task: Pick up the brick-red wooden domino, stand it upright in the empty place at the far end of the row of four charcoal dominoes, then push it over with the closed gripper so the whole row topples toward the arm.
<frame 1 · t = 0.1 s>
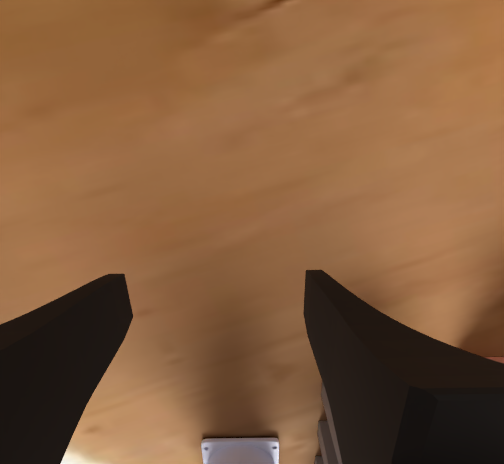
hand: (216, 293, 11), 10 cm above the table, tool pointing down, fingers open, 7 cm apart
domino 3: (337, 461, 31), on the table
domino 2: (342, 427, 29), on the table
domino 1: (348, 387, 27), on the table
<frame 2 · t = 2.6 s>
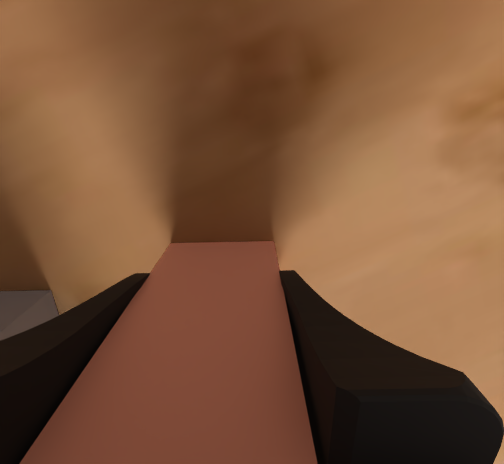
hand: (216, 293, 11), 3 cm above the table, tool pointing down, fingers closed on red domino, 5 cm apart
red domino: (223, 260, 14), on the table, touching gripper
domino 1: (9, 307, 15), on the table
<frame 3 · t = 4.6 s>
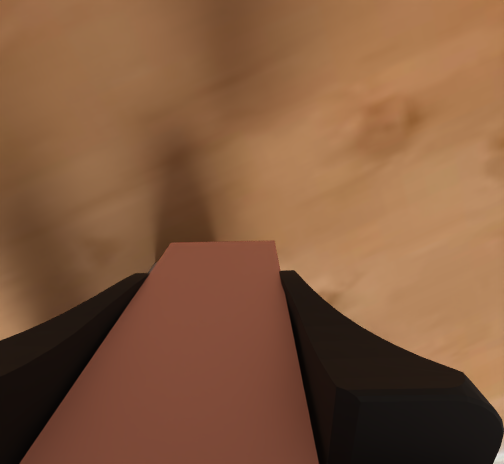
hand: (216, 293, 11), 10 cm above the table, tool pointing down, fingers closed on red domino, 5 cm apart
red domino: (223, 260, 14), point 7 cm above the table, touching gripper
when the fingers open (4 cm above the table, at t = 6.9 s): red domino stays where it is, on the table.
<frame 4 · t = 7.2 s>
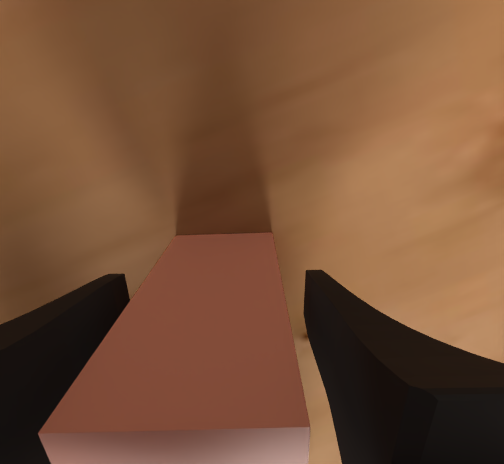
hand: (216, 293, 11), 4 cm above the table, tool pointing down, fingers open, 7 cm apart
red domino: (225, 251, 15), on the table
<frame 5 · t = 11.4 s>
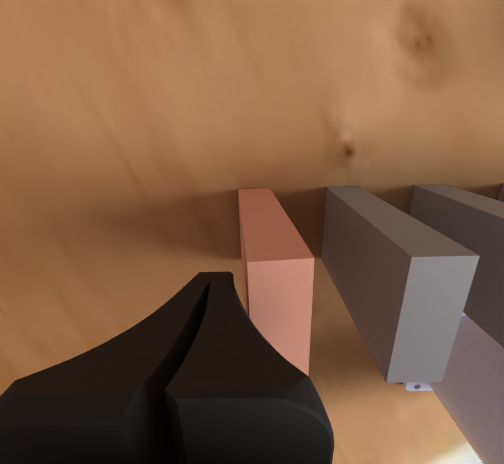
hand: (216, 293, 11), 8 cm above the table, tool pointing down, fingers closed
domino 2: (422, 222, 19), on the table
red domino: (255, 226, 18), on the table, touching gripper
domino 1: (338, 224, 19), on the table
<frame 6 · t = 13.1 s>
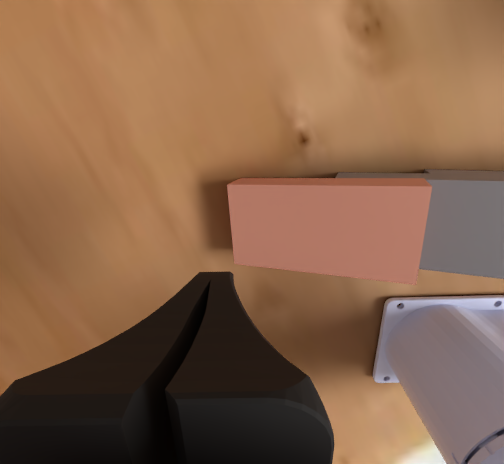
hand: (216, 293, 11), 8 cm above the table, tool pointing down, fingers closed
domino 2: (419, 212, 17), point 1 cm above the table, tilted 71°, touching domino 1
red domino: (237, 220, 18), point 1 cm above the table, tilted 70°, touching domino 1
domino 1: (334, 215, 17), point 1 cm above the table, tilted 69°, touching domino 2, red domino
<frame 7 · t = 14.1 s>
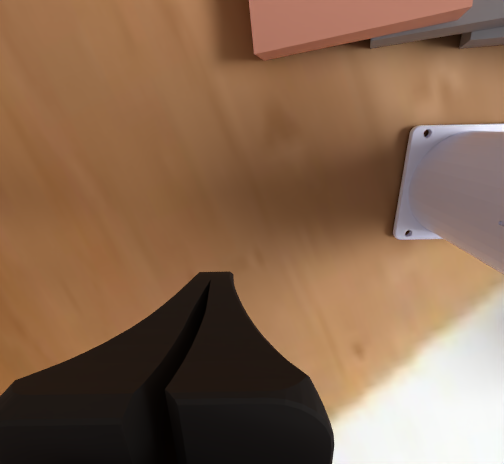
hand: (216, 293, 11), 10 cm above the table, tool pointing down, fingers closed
red domino: (254, 6, 16), point 1 cm above the table, tilted 71°, touching domino 1
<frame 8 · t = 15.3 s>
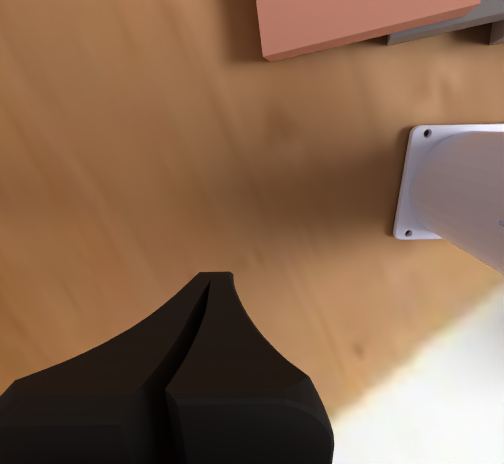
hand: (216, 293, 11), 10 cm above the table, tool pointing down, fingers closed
red domino: (261, 8, 16), point 1 cm above the table, tilted 73°, touching domino 1
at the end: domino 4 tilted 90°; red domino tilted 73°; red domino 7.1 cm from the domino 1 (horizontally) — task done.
